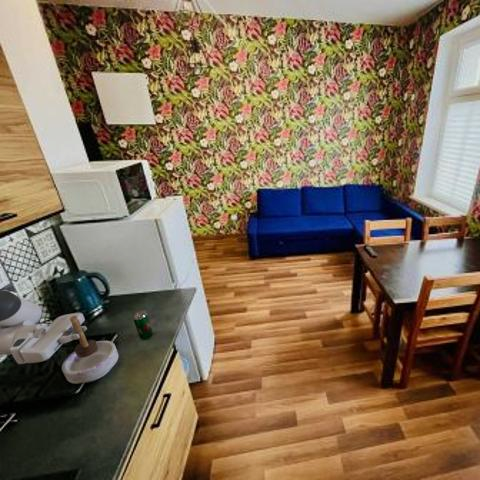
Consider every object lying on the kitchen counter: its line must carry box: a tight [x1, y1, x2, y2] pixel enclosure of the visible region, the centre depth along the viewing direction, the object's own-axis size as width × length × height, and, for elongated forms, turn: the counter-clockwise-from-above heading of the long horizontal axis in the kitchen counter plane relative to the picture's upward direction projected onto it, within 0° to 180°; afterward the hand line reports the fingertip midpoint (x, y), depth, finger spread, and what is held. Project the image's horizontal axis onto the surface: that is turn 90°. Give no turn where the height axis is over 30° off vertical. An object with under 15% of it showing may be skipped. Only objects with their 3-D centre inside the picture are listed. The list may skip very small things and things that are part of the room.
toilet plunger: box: [70, 316, 98, 358], centre depth 93 cm, size 6×6×15 cm
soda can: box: [132, 310, 154, 341], centre depth 114 cm, size 5×5×12 cm
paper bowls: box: [61, 340, 119, 385], centre depth 98 cm, size 15×15×8 cm
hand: (82, 332), depth 92 cm, fingers closed on toilet plunger
